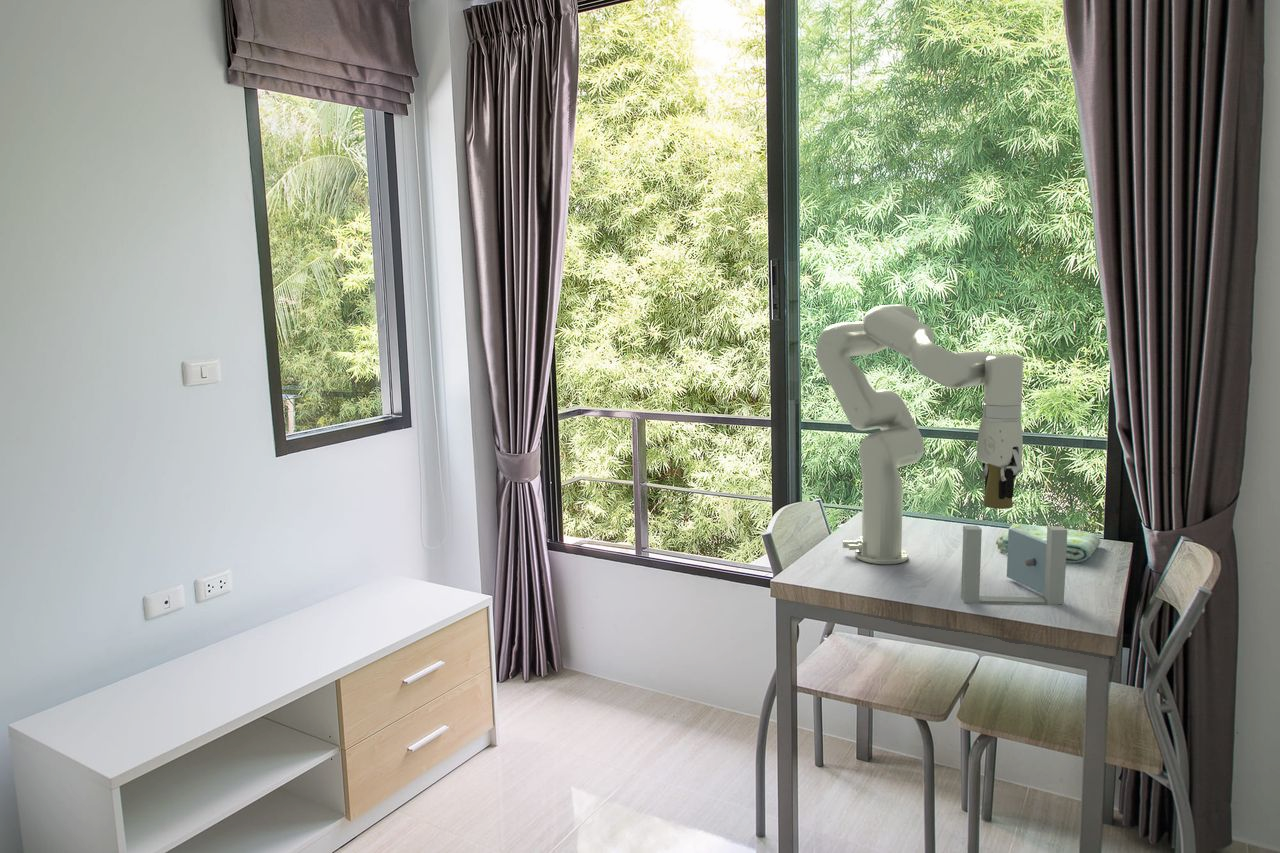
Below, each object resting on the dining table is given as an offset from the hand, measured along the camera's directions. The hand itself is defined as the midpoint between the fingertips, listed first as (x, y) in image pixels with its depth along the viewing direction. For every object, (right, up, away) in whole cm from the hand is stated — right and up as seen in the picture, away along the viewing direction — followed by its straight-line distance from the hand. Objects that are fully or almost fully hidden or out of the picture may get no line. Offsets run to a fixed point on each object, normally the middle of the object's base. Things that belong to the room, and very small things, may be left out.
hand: (998, 495), depth 193 cm
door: (+6, -20, +2) cm, 21 cm away
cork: (0, -3, 0) cm, 3 cm away
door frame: (+1, -22, -5) cm, 23 cm away
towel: (+25, -17, +30) cm, 43 cm away
